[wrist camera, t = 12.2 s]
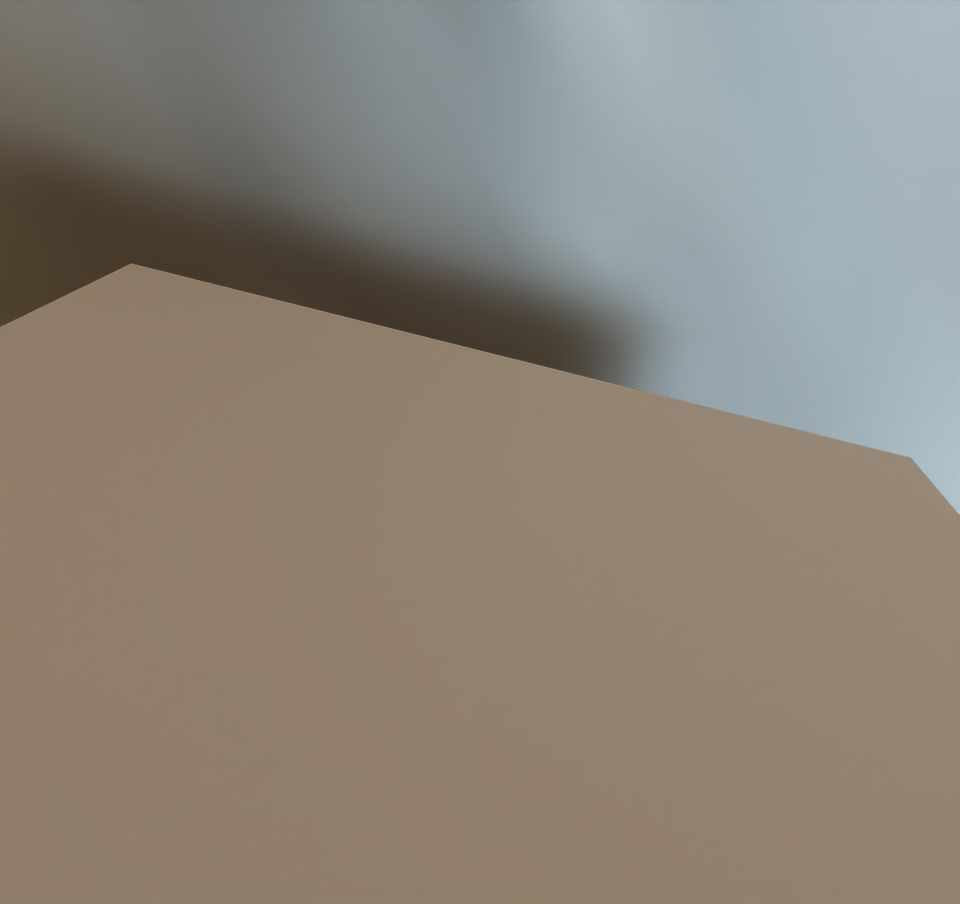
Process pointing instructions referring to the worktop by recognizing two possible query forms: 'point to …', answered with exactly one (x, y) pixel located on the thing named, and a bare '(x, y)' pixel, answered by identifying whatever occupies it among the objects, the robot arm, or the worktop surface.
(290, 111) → the worktop surface
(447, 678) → the beige cardboard box
